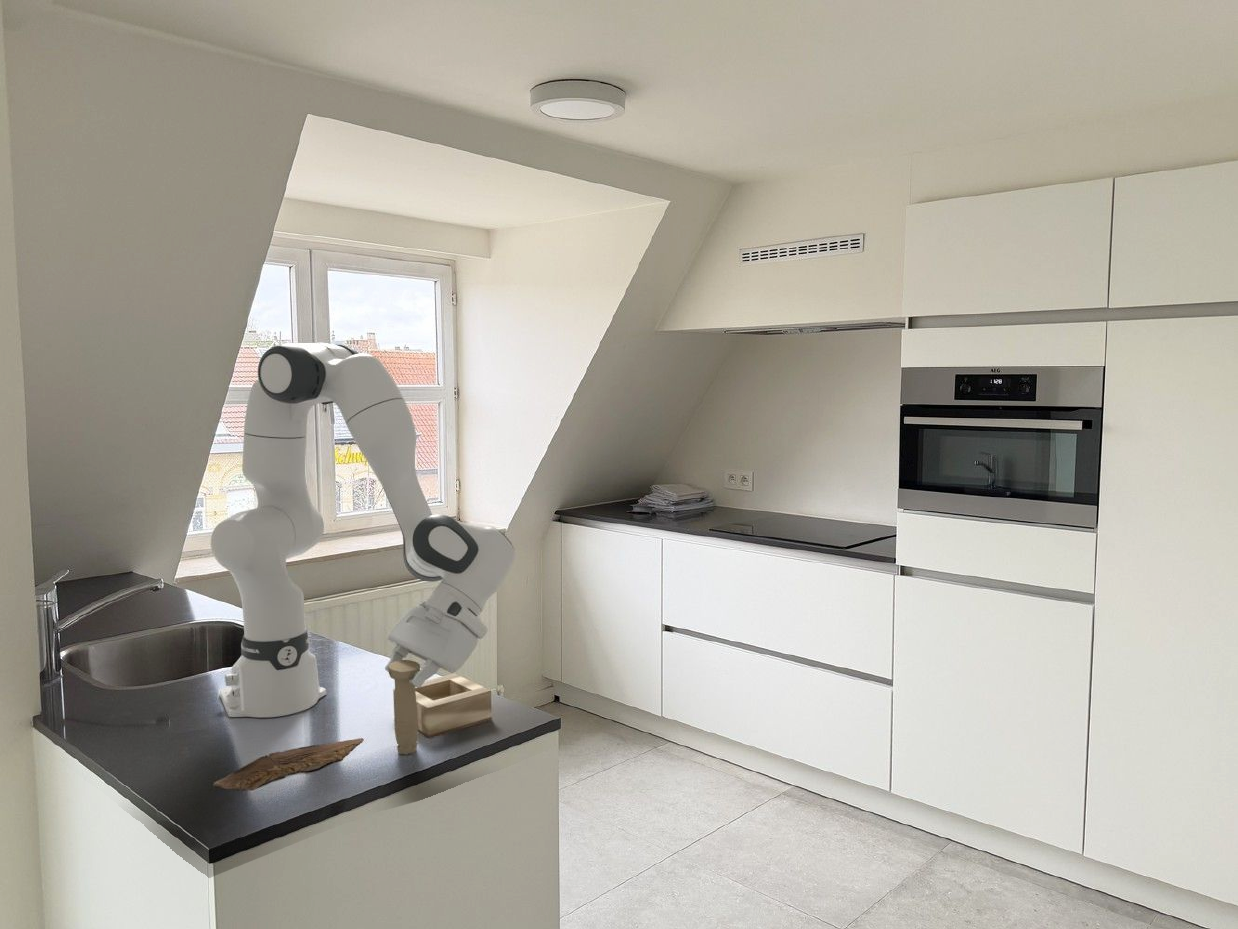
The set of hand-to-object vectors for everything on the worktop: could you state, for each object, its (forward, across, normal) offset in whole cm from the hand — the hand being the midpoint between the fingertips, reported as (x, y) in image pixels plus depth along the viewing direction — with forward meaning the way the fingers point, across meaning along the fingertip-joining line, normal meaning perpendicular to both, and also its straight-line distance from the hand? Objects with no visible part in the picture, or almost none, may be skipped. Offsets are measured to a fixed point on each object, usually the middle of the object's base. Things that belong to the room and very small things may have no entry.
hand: (401, 678), depth 155 cm
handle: (+9, 0, +10) cm, 13 cm away
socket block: (0, -9, +18) cm, 20 cm away
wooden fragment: (+20, -9, -1) cm, 22 cm away
